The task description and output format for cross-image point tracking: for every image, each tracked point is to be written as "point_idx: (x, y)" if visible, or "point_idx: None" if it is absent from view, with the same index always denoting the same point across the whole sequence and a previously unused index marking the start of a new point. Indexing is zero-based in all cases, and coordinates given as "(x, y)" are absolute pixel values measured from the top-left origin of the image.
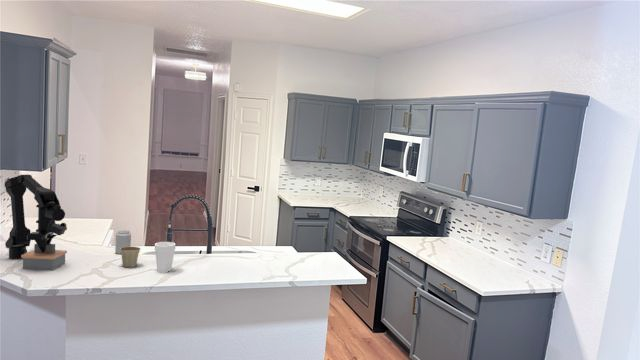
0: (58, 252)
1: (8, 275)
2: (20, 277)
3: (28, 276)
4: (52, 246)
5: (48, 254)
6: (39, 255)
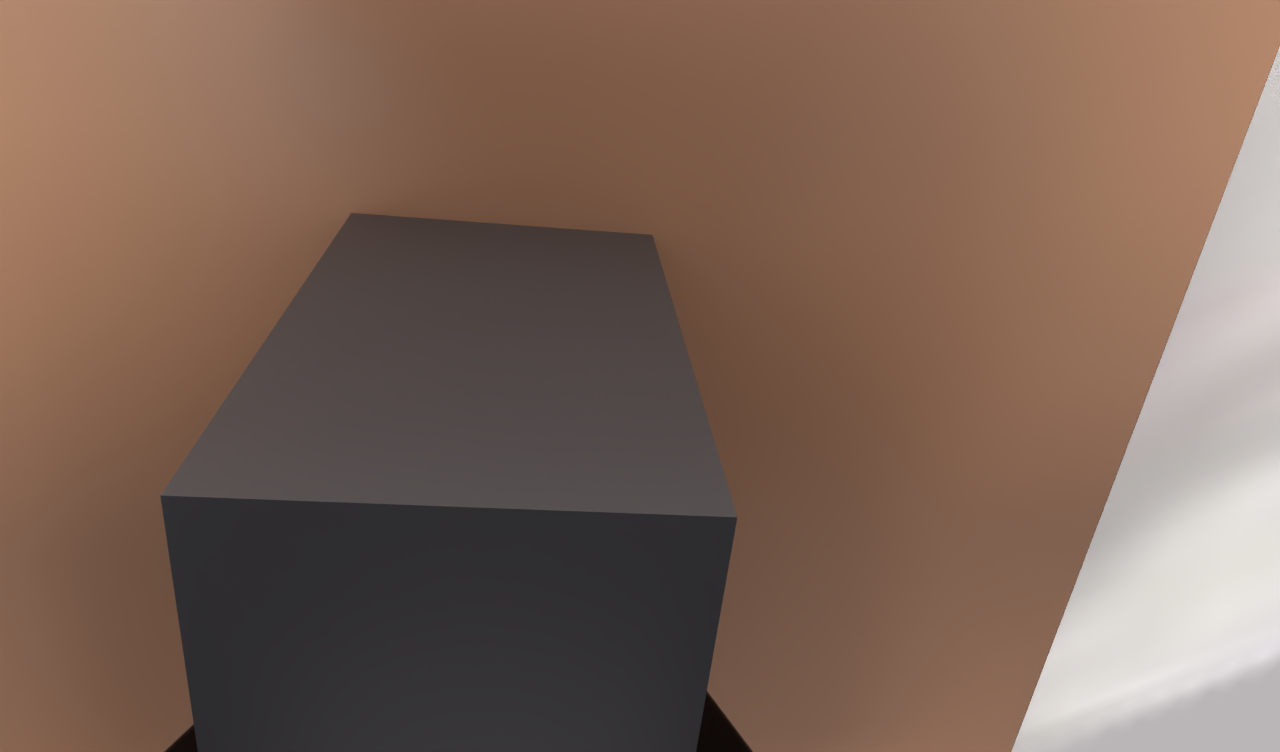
0: (279, 35)
1: (1088, 697)
2: (1276, 467)
3: (1235, 356)
4: (718, 455)
5: (798, 354)
6: (971, 601)
